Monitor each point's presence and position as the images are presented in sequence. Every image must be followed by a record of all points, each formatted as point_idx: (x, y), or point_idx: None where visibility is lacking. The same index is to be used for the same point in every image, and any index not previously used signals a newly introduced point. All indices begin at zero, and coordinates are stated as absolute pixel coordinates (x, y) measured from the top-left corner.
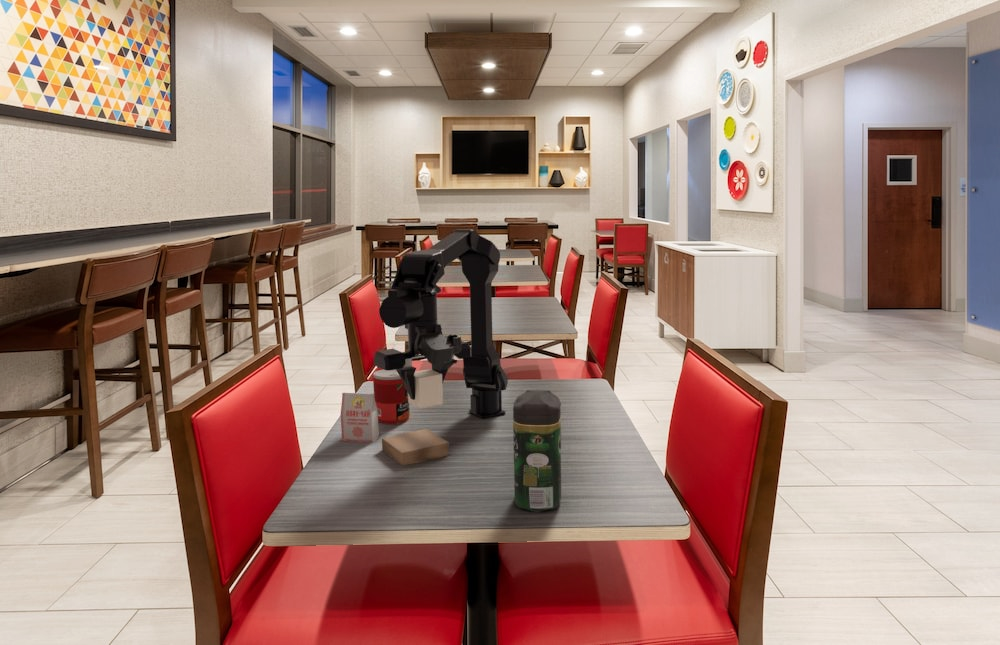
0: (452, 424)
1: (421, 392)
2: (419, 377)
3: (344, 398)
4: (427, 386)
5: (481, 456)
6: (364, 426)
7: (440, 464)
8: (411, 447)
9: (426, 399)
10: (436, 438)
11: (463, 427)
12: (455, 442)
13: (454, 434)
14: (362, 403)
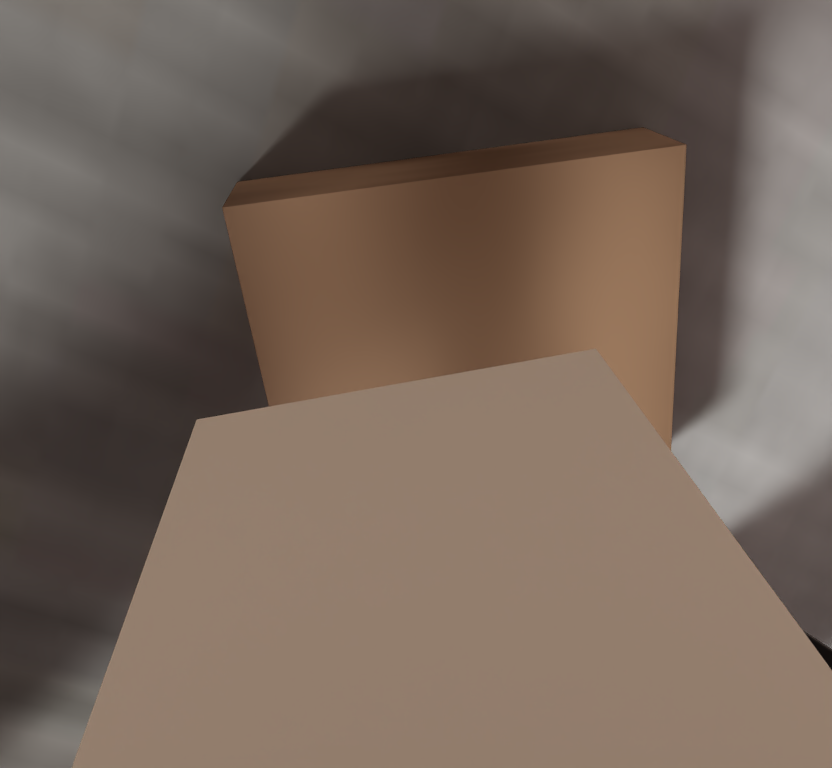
0: (68, 696)
1: (656, 505)
2: None
3: None
4: (533, 608)
5: None
6: None
7: (368, 3)
8: (563, 239)
9: (507, 430)
10: (298, 348)
11: (2, 632)
12: (123, 404)
13: (94, 543)
14: None
